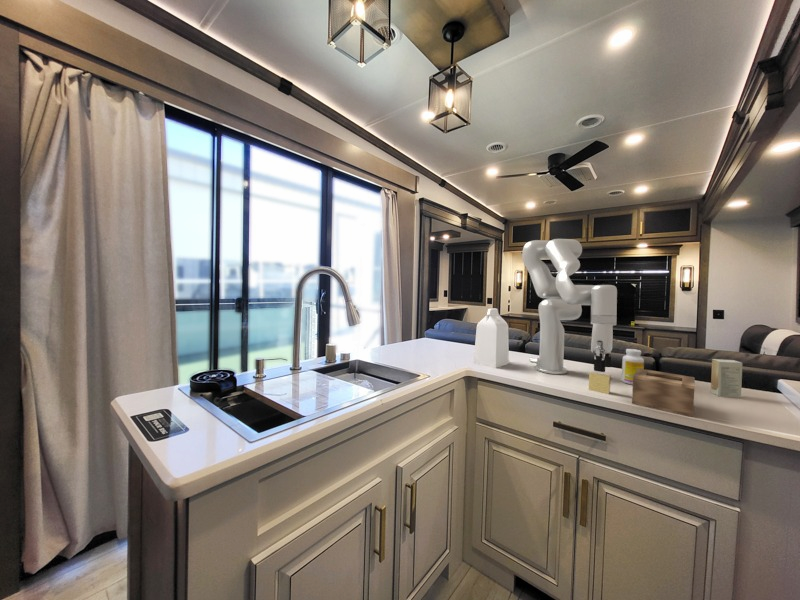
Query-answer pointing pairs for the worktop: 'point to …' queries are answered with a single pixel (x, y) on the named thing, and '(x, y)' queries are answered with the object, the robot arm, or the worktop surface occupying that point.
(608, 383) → the token
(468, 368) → the worktop surface
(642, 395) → the box
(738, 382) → the skincare box
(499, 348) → the milk
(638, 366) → the supplement bottle
